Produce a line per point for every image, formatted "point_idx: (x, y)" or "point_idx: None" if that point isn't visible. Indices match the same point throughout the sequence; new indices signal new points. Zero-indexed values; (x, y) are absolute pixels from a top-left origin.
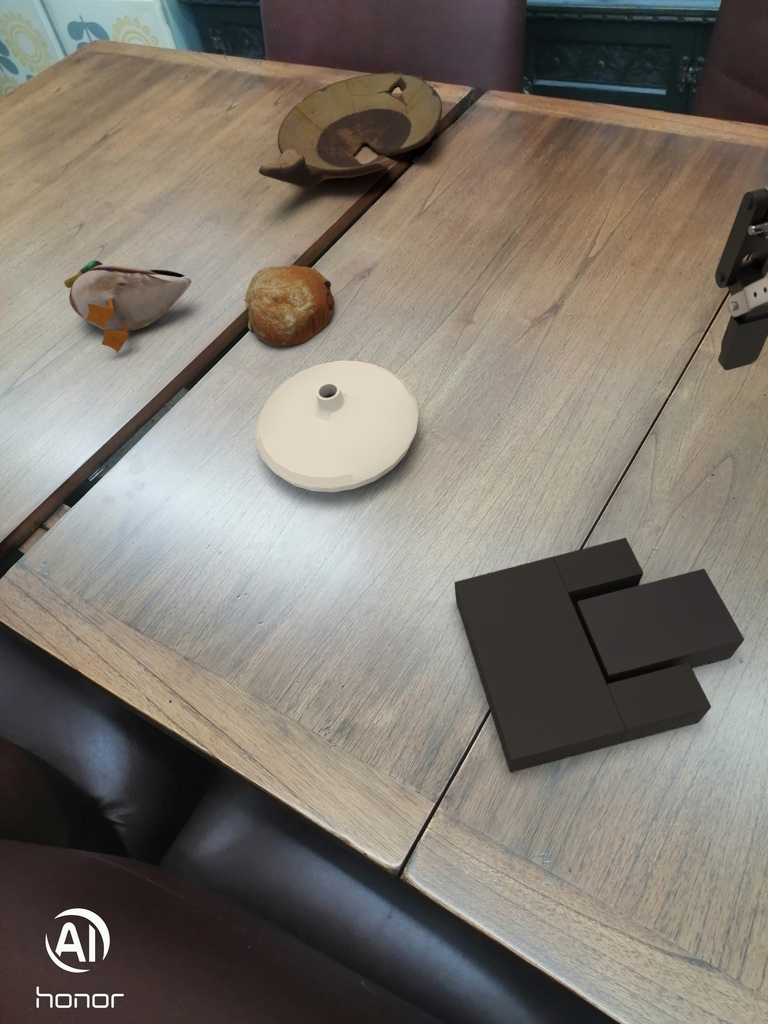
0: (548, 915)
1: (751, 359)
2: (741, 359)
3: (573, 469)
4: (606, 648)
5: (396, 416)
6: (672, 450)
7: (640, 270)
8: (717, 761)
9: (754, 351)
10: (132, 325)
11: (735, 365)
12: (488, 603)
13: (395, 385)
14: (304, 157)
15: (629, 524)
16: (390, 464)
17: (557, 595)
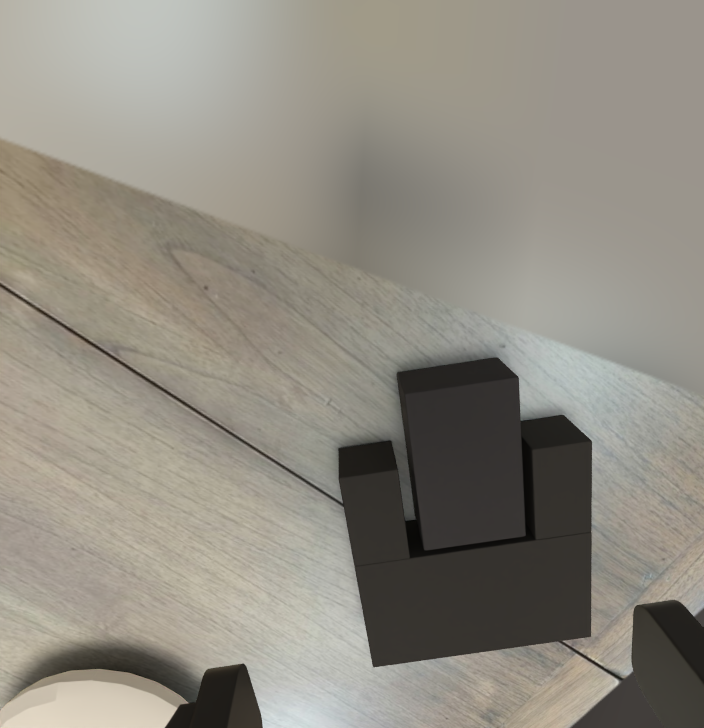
0: (692, 580)
1: (242, 686)
2: (247, 724)
3: (182, 473)
4: (493, 532)
5: (101, 720)
6: (153, 332)
7: None
8: (607, 407)
9: (237, 725)
10: None
11: (255, 714)
12: (409, 638)
13: (37, 717)
14: None
15: (284, 423)
16: None
17: (412, 569)
